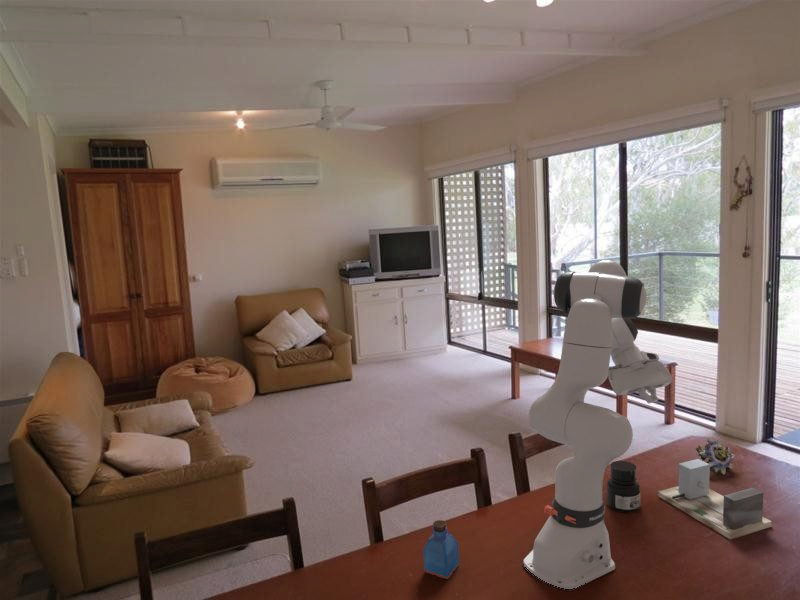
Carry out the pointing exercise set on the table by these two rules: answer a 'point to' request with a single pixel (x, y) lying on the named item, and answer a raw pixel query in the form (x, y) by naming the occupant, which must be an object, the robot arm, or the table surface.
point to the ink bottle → (623, 487)
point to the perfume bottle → (441, 551)
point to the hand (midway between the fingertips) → (653, 401)
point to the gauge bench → (718, 501)
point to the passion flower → (716, 456)
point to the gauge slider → (693, 479)
